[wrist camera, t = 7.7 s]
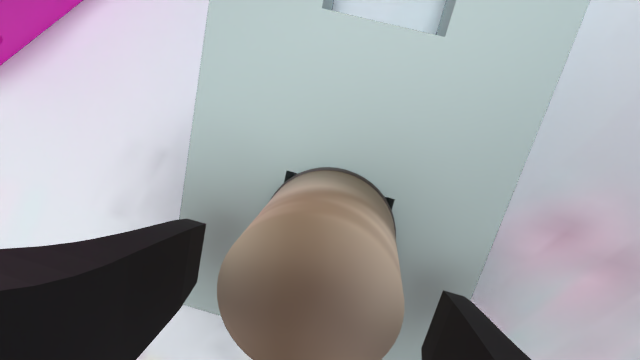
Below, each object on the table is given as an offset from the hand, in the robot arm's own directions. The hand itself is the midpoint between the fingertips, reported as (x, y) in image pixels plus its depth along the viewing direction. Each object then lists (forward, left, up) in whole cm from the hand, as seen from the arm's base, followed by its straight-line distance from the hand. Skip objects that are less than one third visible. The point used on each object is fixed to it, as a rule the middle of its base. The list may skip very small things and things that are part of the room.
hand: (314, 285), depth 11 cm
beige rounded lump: (0, 0, -6) cm, 6 cm away
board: (0, -5, -6) cm, 8 cm away
